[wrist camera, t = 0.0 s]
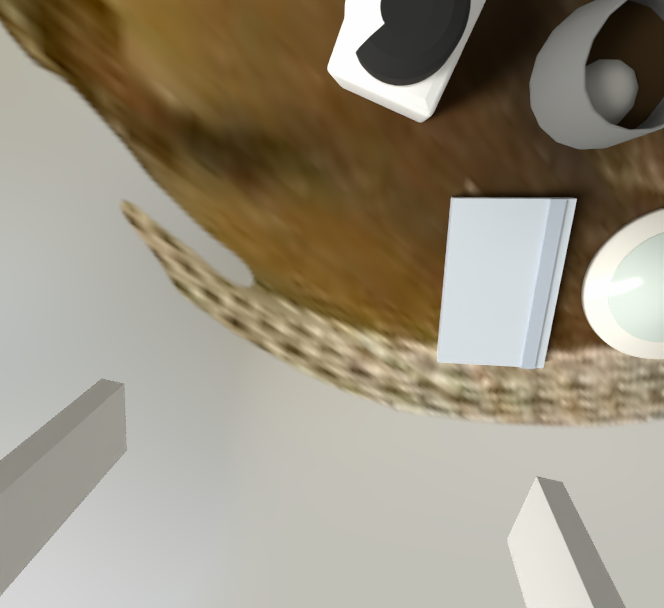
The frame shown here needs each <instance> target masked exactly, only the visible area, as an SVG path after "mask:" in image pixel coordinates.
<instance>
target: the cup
mask: <svg viewBox="0 0 664 608" xmlns="http://www.w3.org/2000/svg"><path fill="white" fill-rule="evenodd" d="M529 83H530V102H531V108H532V111H533V113H534V115H535V117H536V119H537V122H538V124H539V126H540V127H541V128H542V129H543V130H544V131H545V132H546V133H547V134H548V135H549V136H550V137H552V138H553V139H554V140H555V141H556V142H558V143H561V144H564V145H567V146H570V147H573V148H576V149H600V148H607V147H610V146H613V145H616V144H619V143H622V142H625V141H628V140H631V139H634V138H637V137H640V136H642V135H645V134H648V133H651V132H654V131H657V130H659V129H662V128H664V0H594V1H592V2H590V3H588V4H586V5H584V6H581V7H579V8H577V9H576V10H575V11H574V12H573V13H572V14H571V15H569V16H568V17H567V18H566V19H565V20H564V21H563V22H562V23H561V24H559V25H558V26H557V27H556V28H555V29H554V30H553V31H552V33H551V34H550V36H549V37H548V39H547V41H546V42H545V44H544V45H543V47H542V49H541V50H540V52H539V53H538V55H537V57H536V61H535V64H534V68H533V72H532V75H531V79H530V82H529Z"/></svg>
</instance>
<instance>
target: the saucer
mask: <svg viewBox="0 0 664 608" xmlns="http://www.w3.org/2000/svg"><path fill="white" fill-rule="evenodd" d="M581 300H582V307H583V311H584V315H585V317H586V319H587V321H588V323H589V325H590V326H591V328H592V329H593V330H594V332H595V333H596V334H597V335H598V336H599V337H600V338H601V339H602V340H604V341H605V342H606V343H607V344H609V345H610V346H611V347H613V348H615V349H617V350H618V351H620V352H623V353H625V354H628V355H632V356H635V357H640V358H647V359H664V207H663V208H659V209H656V210H653V211H650V212H648V213H645V214H643V215H641V216H639V217H637V218H635V219H633V220H631V221H630V222H628V223H627V224H625V225H623V226H622V227H621V228H620V229H618V230H617V231H616V232H614V233H613V234H612V235H611V236H610V237H609V238H608V239H607V240H606V241H605V242H604V243H603V244H602V246H601V247H600V248H599V249H598V251H597V252H596V254H595V255H594V257H593V258H592V260H591V262H590V264H589V266H588V268H587V270H586V273H585V276H584V279H583V284H582V292H581Z"/></svg>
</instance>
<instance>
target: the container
mask: <svg viewBox="0 0 664 608" xmlns="http://www.w3.org/2000/svg"><path fill="white" fill-rule="evenodd" d="M485 1H486V0H346V3H345V18H344V21H343V24H342V27H341V30H340V32H339V35H338V38H337V41H336V44H335V47H334V49H333V52H332V55H331V58H330V61H329V64H328V72H329V73H330V74H331V76H332V77H333V78H334V79H335V80H336V81H337V82H338V84H339V85H340V86H341V87H342V88H344V89H347V90H349V91H351V92H353V93H355V94H358V95H360V96H362V97H364V98H366V99H369V100H371V101H373V102H375V103H378V104H380V105H382V106H384V107H386V108H389V109H391V110H393V111H395V112H397V113H400V114H402V115H404V116H406V117H408V118H411V119H413V120H415V121H417V122H421V123H422V122H424V121H425V120H427V119H428V118H429V117H431V116H432V114H433V113H434V111H435V109H436V107H437V105H438V102H439V100H440V98H441V96H442V94H443V92H444V89H445V87H446V85H447V83H448V81H449V79H450V77H451V74H452V72H453V70H454V68H455V66H456V64H457V62H458V59H459V57H460V55H461V53H462V51H463V49H464V46H465V44H466V42H467V40H468V38H469V36H470V34H471V31H472V29H473V27H474V25H475V23H476V21H477V19H478V16H479V14H480V12H481V10H482V8H483V6H484V3H485Z"/></svg>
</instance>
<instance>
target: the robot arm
mask: <svg viewBox="0 0 664 608" xmlns="http://www.w3.org/2000/svg"><path fill="white" fill-rule="evenodd" d="M126 450H127V445H126V419H125V393H124V384H122V383H118V382H114V381H110V380H105V379H101V380H100V381H98V382H97V383H96V384H95V385H93V386H92V387H91V388H90V389H88V390H87V391H86V392H85V393H83V394H82V395H81V396H80V397H79V398H77V399H76V400H75V401H74V402H72V403H71V404H70V405H69V406H67V407H66V408H65V409H64V410H62V411H61V412H60V413H59V414H58V415H56V416H55V417H54V418H52V419H51V420H50V421H49V422H47V423H46V424H45V425H44V426H43V427H41V428H40V429H39V430H38V431H36V432H35V433H34V434H33V435H31V437H29V438H28V439H26V440H25V441H24V442H23V443H21V444H20V445H19V446H18V447H17V448H15V449H14V450H13V451H12V452H10V453H9V454H8V455H7V456H5V457H4V458H3V459H2V460H0V596H1V595H2V593H3V592H4V591H5V590H6V589H7V587H8V586H9V585H10V584H11V583H12V582H13V581H14V580H15V578H16V577H17V576H18V575H19V574H20V573H21V571H22V570H23V569H24V568H25V567H26V566H27V564H28V563H29V562H30V561H31V560H32V559H33V558H34V556H35V555H36V554H37V553H38V552H39V551H40V550H41V548H42V547H43V546H44V545H45V544H46V543H47V542H48V540H49V539H50V538H51V537H52V536H53V535H54V533H55V532H56V531H57V530H58V529H59V528H60V527H61V525H62V524H63V523H64V522H65V521H66V520H67V518H68V517H69V516H70V515H71V514H72V512H74V510H75V509H76V508H77V507H78V506H79V505H80V504H81V502H82V501H83V500H84V499H85V498H86V497H87V495H88V494H89V493H90V492H91V491H92V489H94V487H95V486H96V485H97V484H98V483H99V482H100V480H101V479H102V478H103V477H104V475H106V473H107V472H108V471H109V470H110V469H111V468H112V467H113V465H114V464H115V463H116V462H117V461H118V460H119V459H120V457H121V456H122V455H123V454H124V453H125V452H126ZM507 542H508V545H509V548H510V552H511V556H512V559H513V562H514V566H515V569H516V573H517V576H518V580H519V583H520V586H521V590H522V593H523V597H524V600H525V604H526V607H527V608H626V607H625V605H624V604H623V601H622V600H621V597H620V595H619V593H618V591H617V590H616V587H615V586H614V583H613V581H612V580H611V578H610V576H609V574H608V572H607V570H606V568H605V566H604V564H603V562H602V560H601V558H600V556H599V554H598V552H597V550H596V548H595V546H594V544H593V542H592V540H591V538H590V536H589V534H588V532H587V530H586V528H585V526H584V524H583V522H582V520H581V518H580V516H579V514H578V512H577V510H576V508H575V506H574V504H573V502H572V500H571V498H570V496H569V494H568V492H567V490H566V488H565V486H564V484H563V482H558V481H555V480H550V479H546V478H541V477H536V479H535V481H534V483H533V485H532V488H531V489H530V492H529V494H528V496H527V499H526V500H525V502H524V505H523V507H522V509H521V511H520V513H519V515H518V517H517V520H516V522H515V524H514V526H513V528H512V530H511V533H510V535H509V537H508V539H507Z"/></svg>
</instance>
